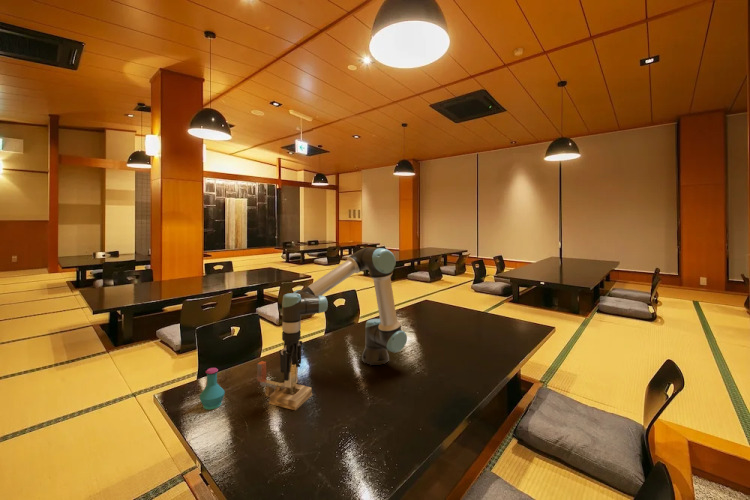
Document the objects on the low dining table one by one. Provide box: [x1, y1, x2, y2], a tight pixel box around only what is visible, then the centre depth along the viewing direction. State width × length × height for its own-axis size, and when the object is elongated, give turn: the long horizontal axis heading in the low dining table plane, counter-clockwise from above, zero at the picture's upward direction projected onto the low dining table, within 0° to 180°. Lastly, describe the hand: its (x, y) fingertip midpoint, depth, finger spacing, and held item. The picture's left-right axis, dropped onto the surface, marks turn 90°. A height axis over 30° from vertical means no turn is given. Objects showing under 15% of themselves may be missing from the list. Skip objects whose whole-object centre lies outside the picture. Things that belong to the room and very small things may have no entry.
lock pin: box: [256, 360, 284, 390], centre depth 141 cm, size 12×3×10 cm, turn 70°
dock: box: [265, 382, 314, 411], centre depth 139 cm, size 18×13×5 cm
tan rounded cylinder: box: [286, 362, 297, 394], centre depth 137 cm, size 4×4×12 cm
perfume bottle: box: [199, 367, 226, 410], centre depth 132 cm, size 9×9×15 cm
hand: (291, 384), depth 137 cm, fingers closed on tan rounded cylinder, 4 cm apart
